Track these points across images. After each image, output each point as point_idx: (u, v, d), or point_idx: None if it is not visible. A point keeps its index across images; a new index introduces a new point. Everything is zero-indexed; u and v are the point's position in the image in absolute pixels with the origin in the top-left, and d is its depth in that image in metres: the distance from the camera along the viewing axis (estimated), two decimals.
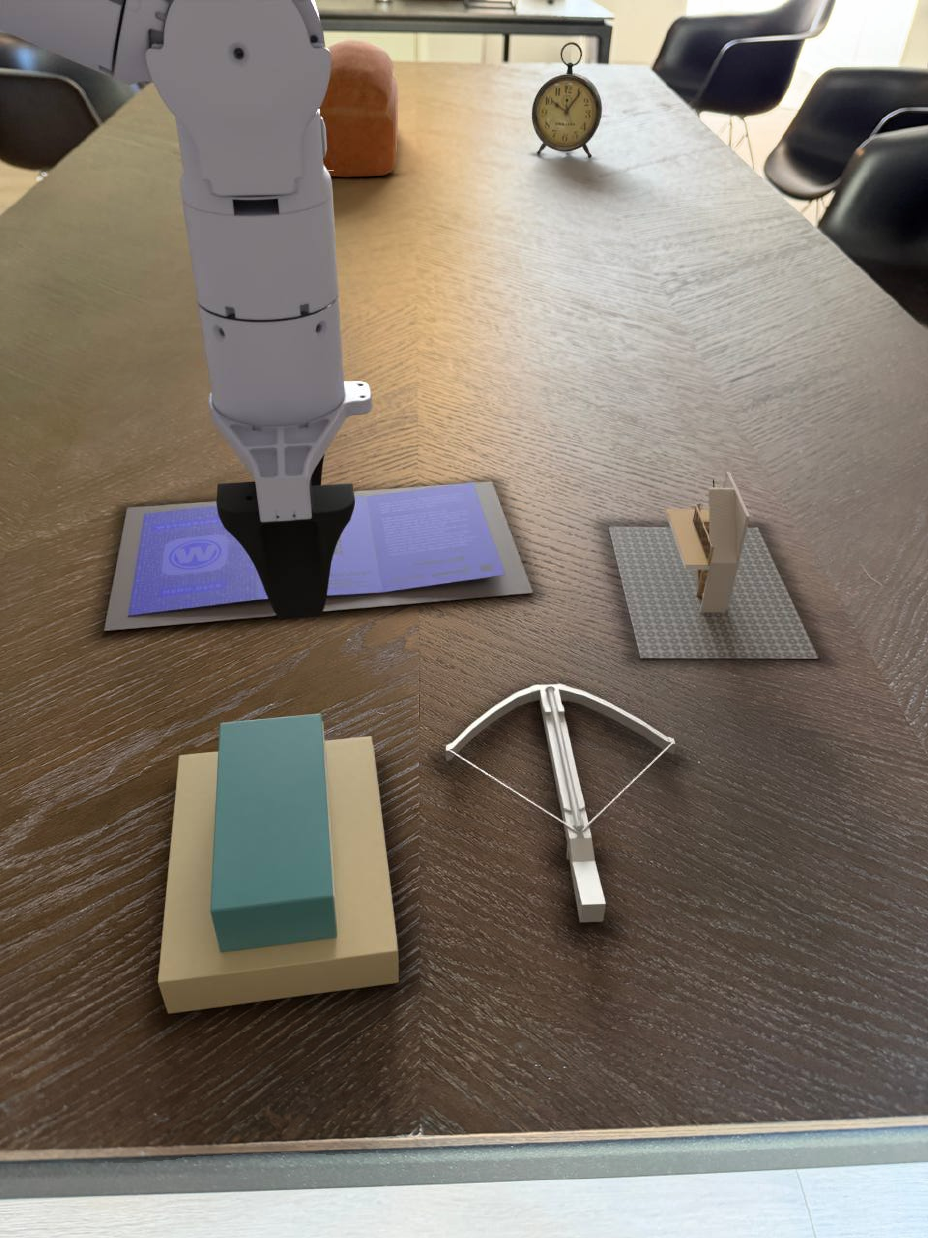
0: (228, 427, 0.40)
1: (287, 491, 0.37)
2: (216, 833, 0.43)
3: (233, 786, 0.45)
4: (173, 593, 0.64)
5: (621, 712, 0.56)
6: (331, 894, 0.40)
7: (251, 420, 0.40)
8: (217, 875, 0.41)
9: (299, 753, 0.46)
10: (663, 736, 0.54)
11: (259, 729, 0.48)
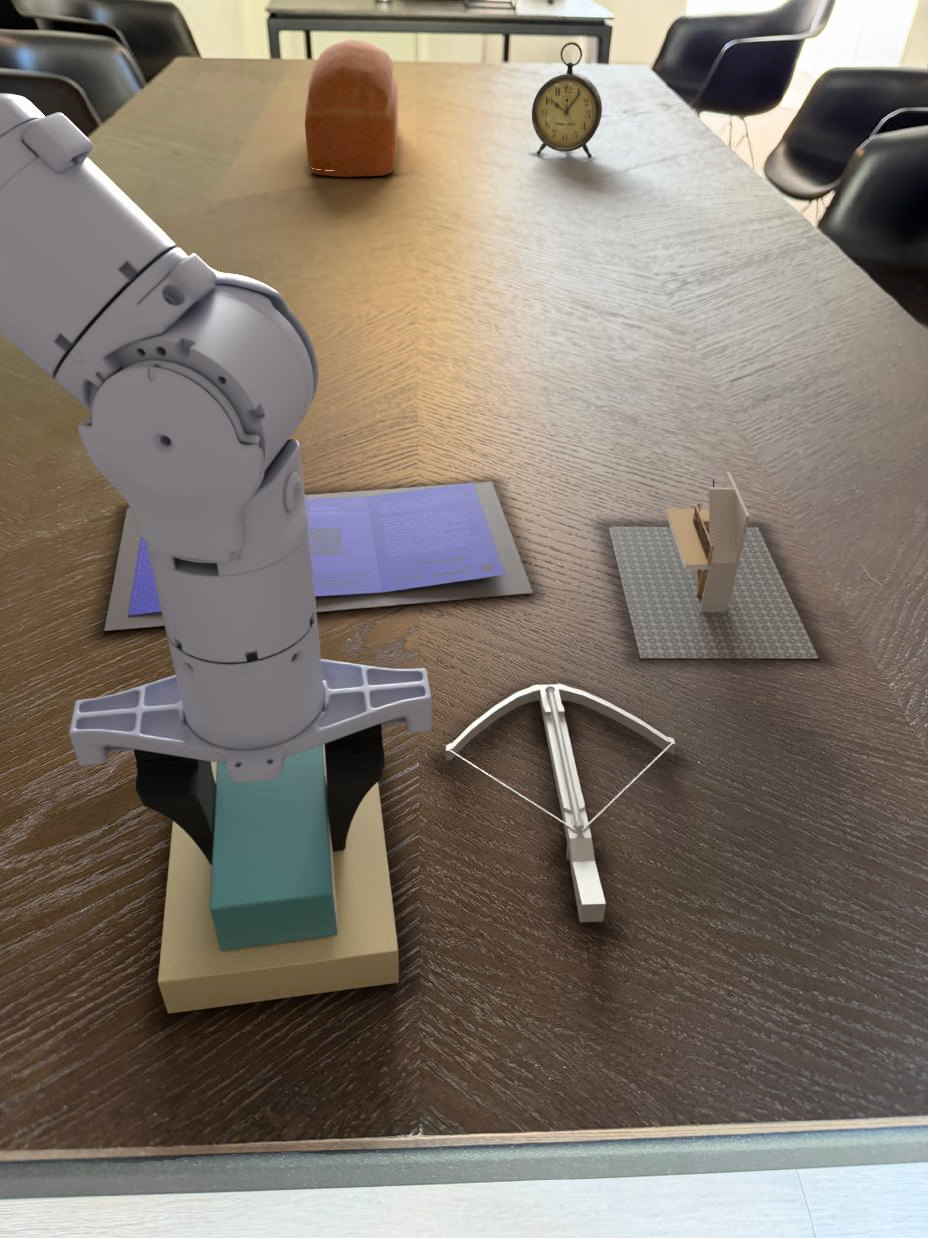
0: None
1: None
2: (215, 831, 0.42)
3: (232, 785, 0.45)
4: None
5: (621, 712, 0.56)
6: (331, 891, 0.40)
7: None
8: (217, 873, 0.41)
9: None
10: (663, 736, 0.54)
11: None
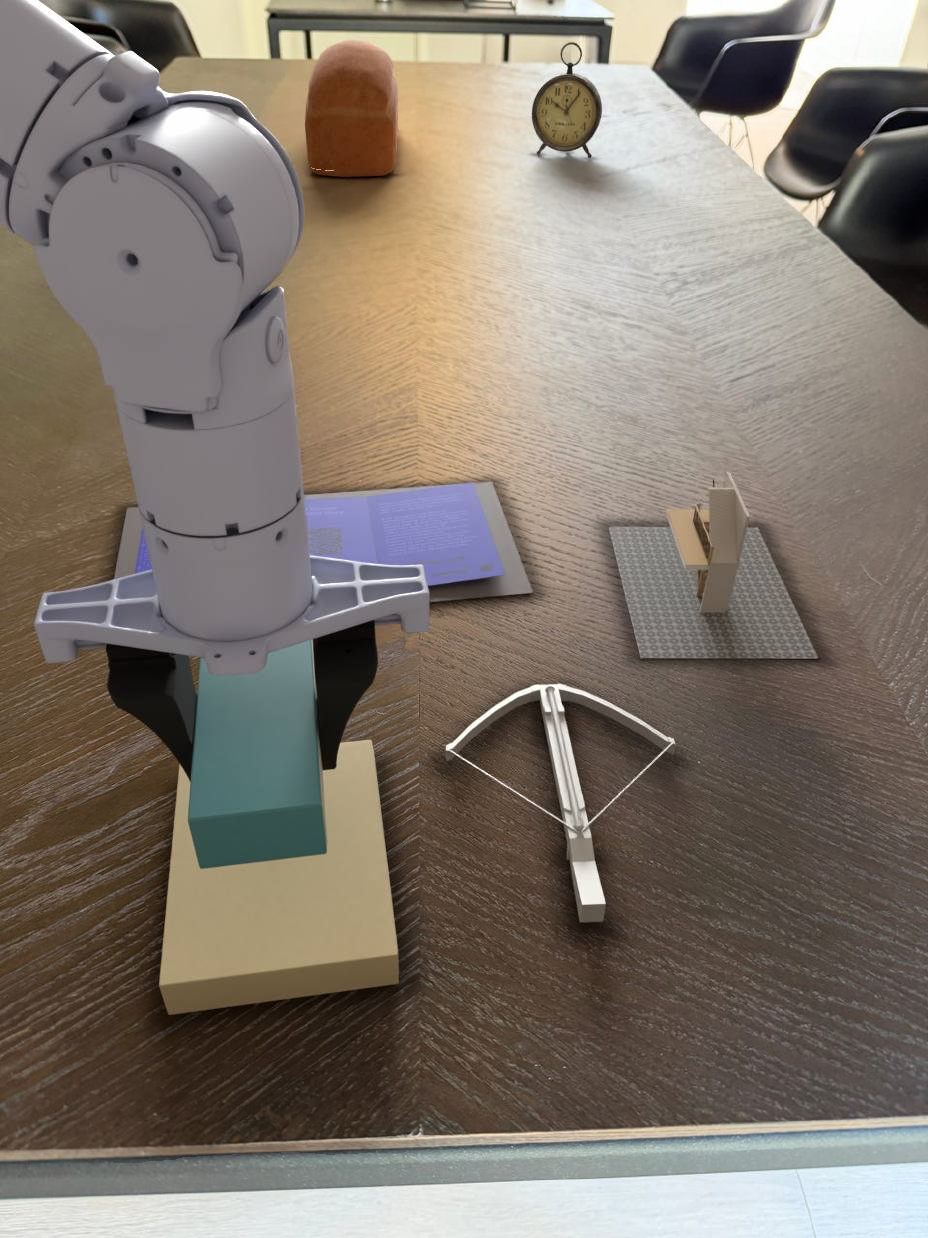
0: None
1: None
2: (195, 743, 0.39)
3: (215, 697, 0.41)
4: None
5: (621, 712, 0.55)
6: (319, 803, 0.37)
7: None
8: (196, 784, 0.38)
9: (286, 664, 0.43)
10: (663, 736, 0.54)
11: None
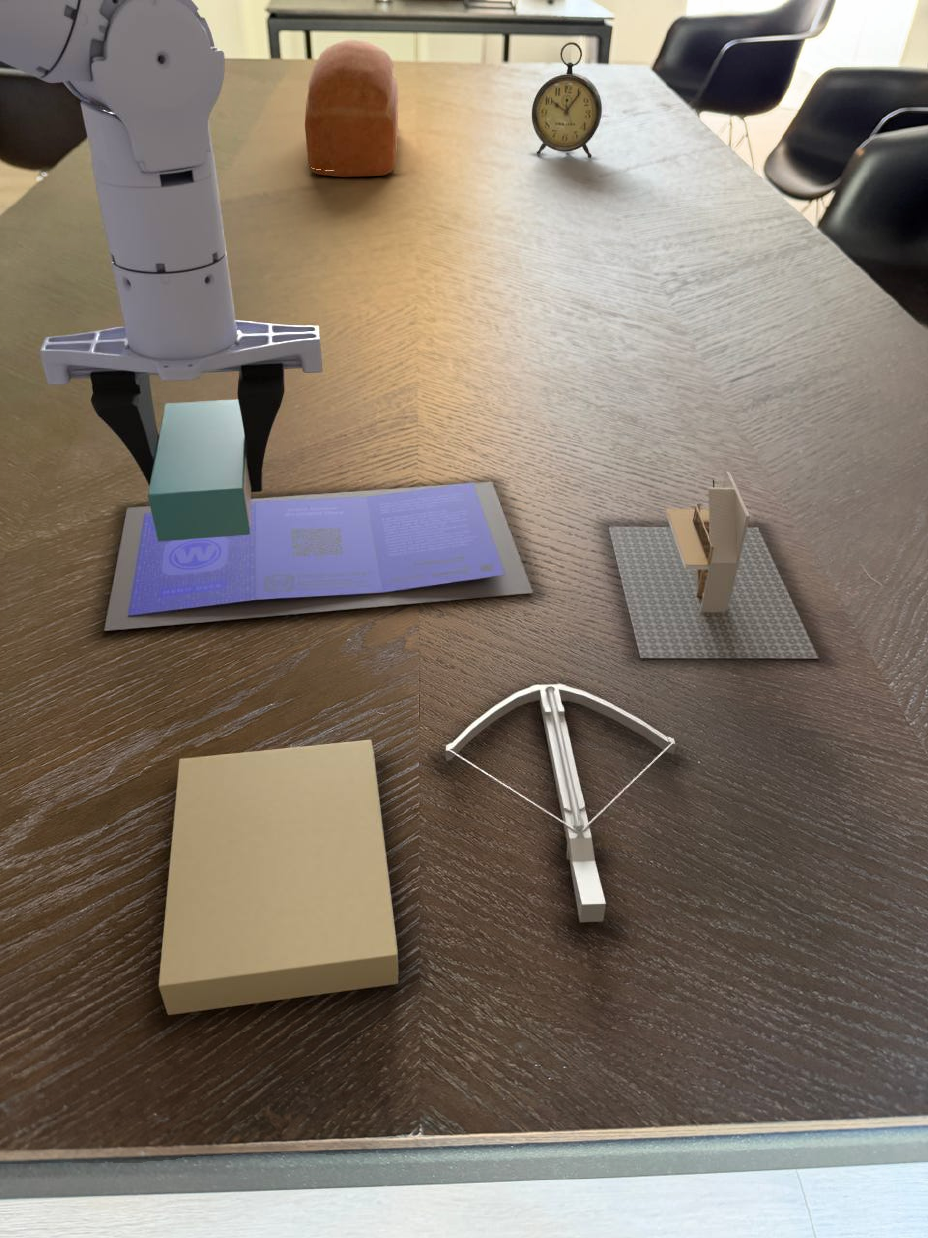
0: None
1: None
2: (156, 457, 0.54)
3: (172, 434, 0.57)
4: (173, 593, 0.64)
5: (621, 712, 0.56)
6: (241, 487, 0.52)
7: None
8: (154, 477, 0.53)
9: (226, 418, 0.58)
10: (663, 736, 0.54)
11: (196, 406, 0.59)
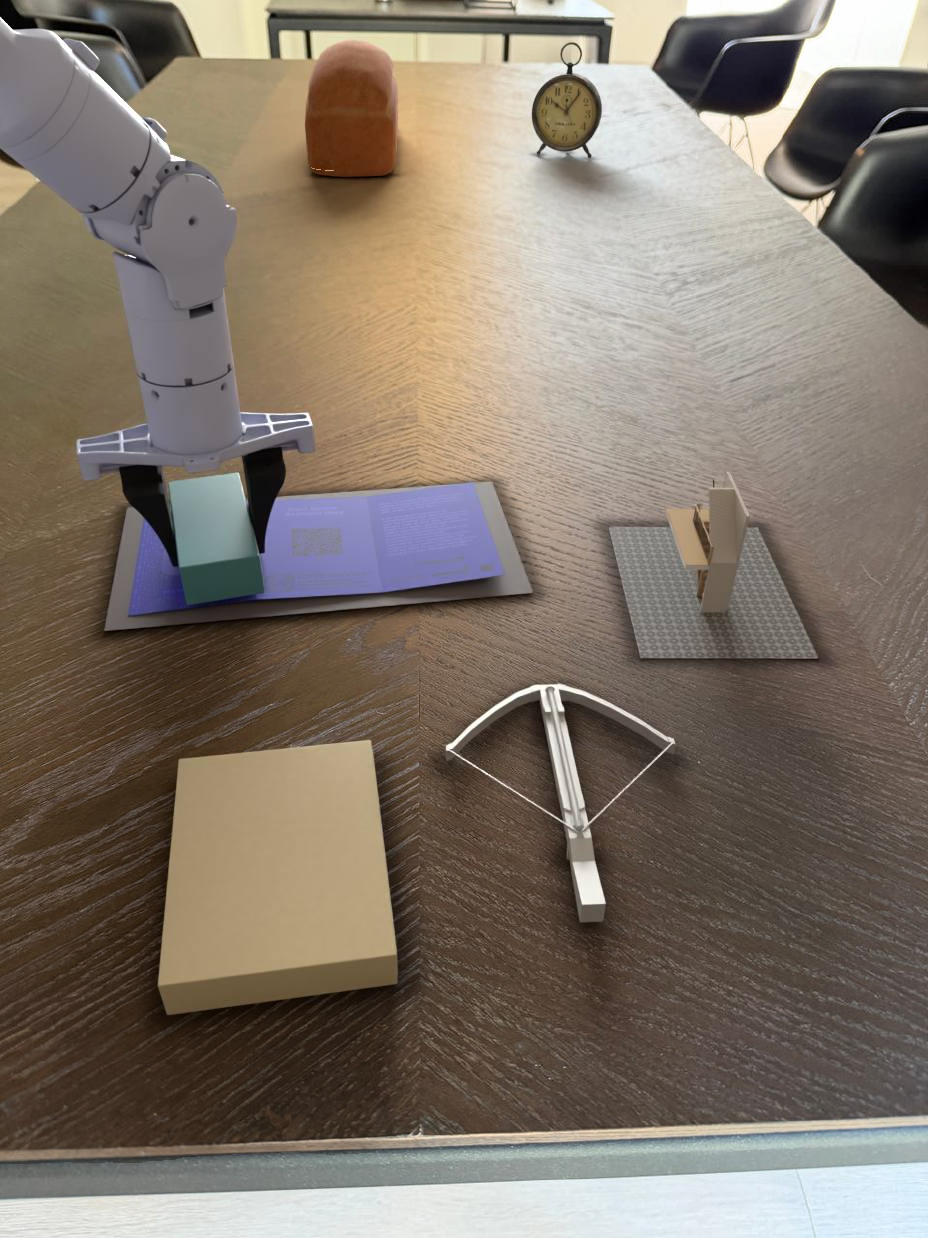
0: None
1: None
2: (176, 533, 0.64)
3: (183, 511, 0.66)
4: (173, 593, 0.64)
5: (621, 712, 0.56)
6: (258, 554, 0.62)
7: None
8: (180, 552, 0.62)
9: (226, 492, 0.68)
10: (663, 736, 0.54)
11: (196, 482, 0.69)
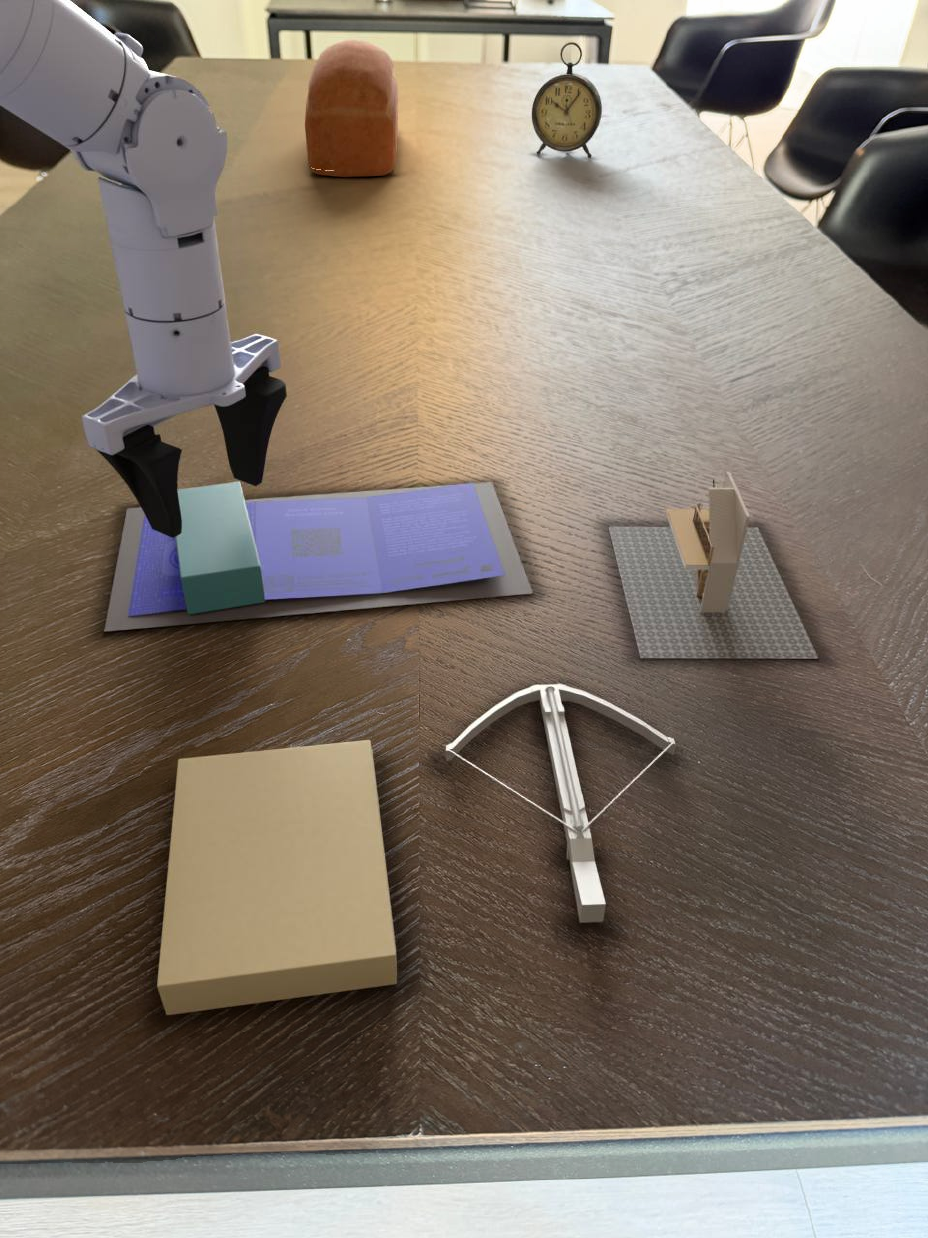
0: (127, 382, 0.58)
1: (96, 430, 0.54)
2: (177, 543, 0.64)
3: (185, 520, 0.66)
4: (173, 594, 0.64)
5: (621, 712, 0.56)
6: (259, 564, 0.62)
7: (140, 383, 0.57)
8: (182, 561, 0.62)
9: (227, 501, 0.68)
10: (663, 736, 0.54)
11: (198, 491, 0.69)
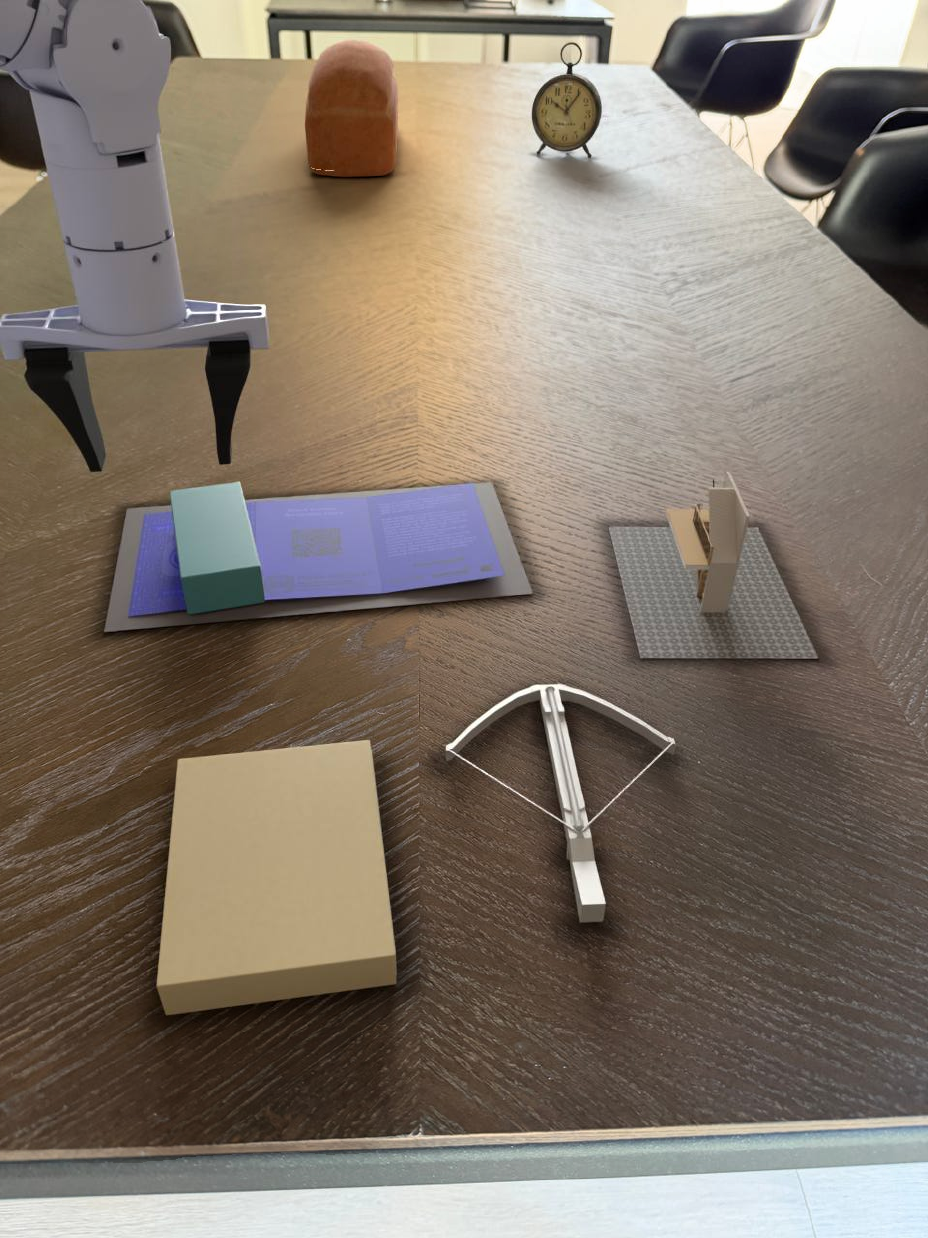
0: (182, 327, 0.53)
1: (266, 319, 0.56)
2: (177, 543, 0.64)
3: (185, 520, 0.66)
4: (173, 594, 0.64)
5: (621, 712, 0.56)
6: (259, 565, 0.62)
7: (180, 318, 0.54)
8: (182, 561, 0.62)
9: (227, 501, 0.68)
10: (663, 736, 0.54)
11: (198, 492, 0.69)
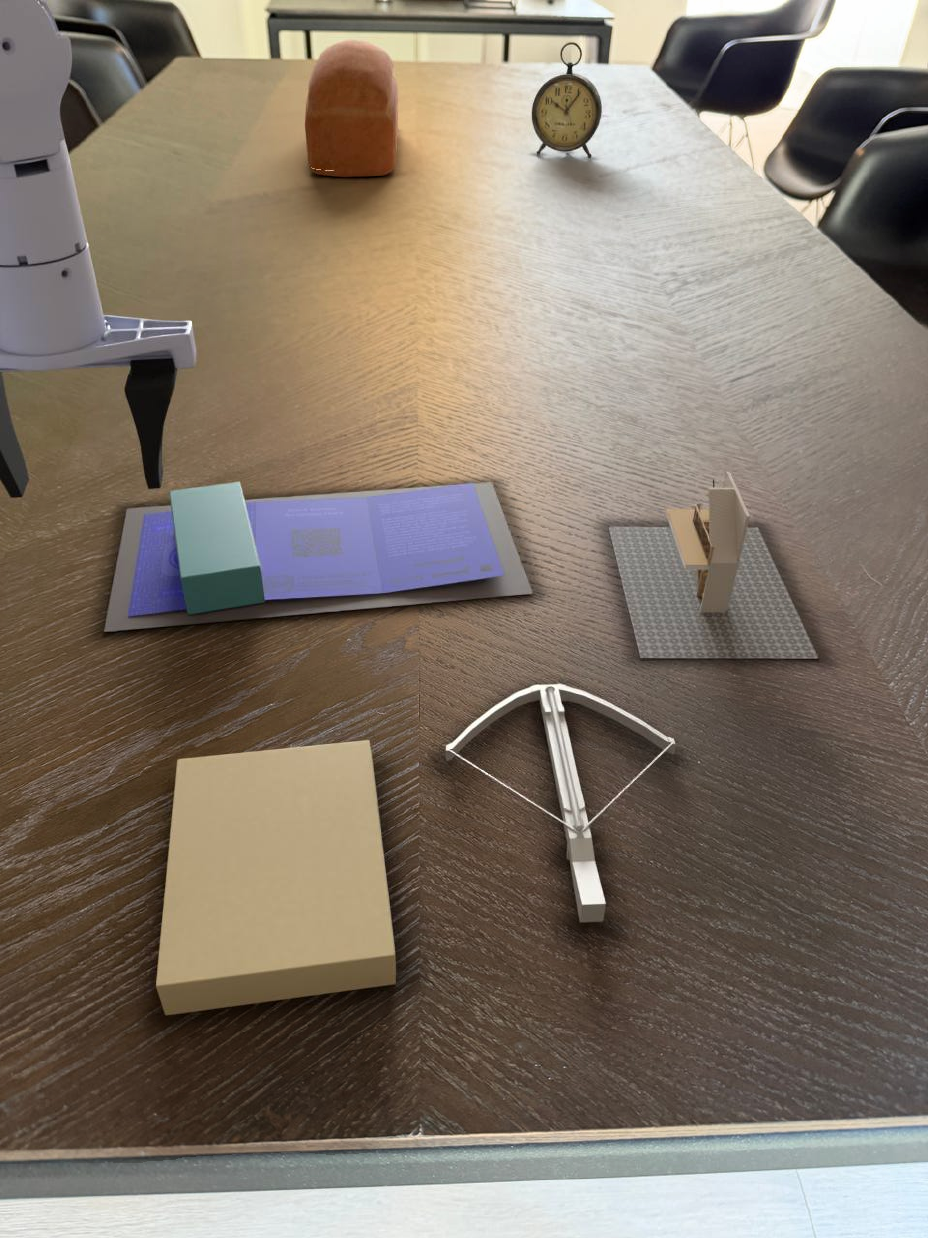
0: (99, 346, 0.50)
1: (192, 336, 0.53)
2: (177, 543, 0.64)
3: (184, 520, 0.66)
4: (173, 594, 0.64)
5: (621, 712, 0.56)
6: (259, 564, 0.62)
7: (97, 336, 0.50)
8: (182, 561, 0.62)
9: (227, 501, 0.68)
10: (663, 736, 0.54)
11: (197, 491, 0.69)
